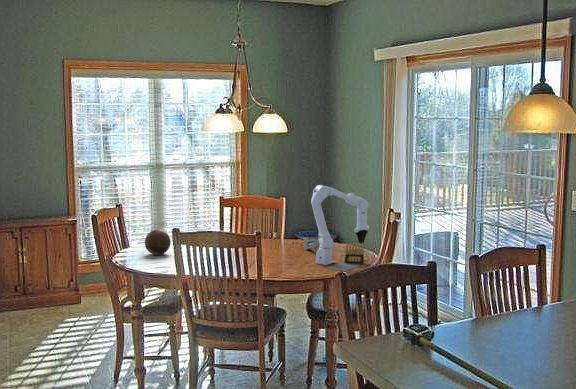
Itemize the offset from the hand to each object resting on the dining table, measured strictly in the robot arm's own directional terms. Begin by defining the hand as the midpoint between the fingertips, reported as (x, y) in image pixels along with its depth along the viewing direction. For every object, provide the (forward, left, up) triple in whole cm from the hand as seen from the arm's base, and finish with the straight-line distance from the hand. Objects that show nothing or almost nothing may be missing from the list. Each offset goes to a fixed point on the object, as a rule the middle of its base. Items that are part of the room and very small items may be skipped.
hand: (361, 243), depth 379 cm
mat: (-20, 0, -10) cm, 22 cm away
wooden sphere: (-58, +105, -11) cm, 120 cm away
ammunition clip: (-8, 0, -10) cm, 13 cm away
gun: (+4, +36, -11) cm, 37 cm away
